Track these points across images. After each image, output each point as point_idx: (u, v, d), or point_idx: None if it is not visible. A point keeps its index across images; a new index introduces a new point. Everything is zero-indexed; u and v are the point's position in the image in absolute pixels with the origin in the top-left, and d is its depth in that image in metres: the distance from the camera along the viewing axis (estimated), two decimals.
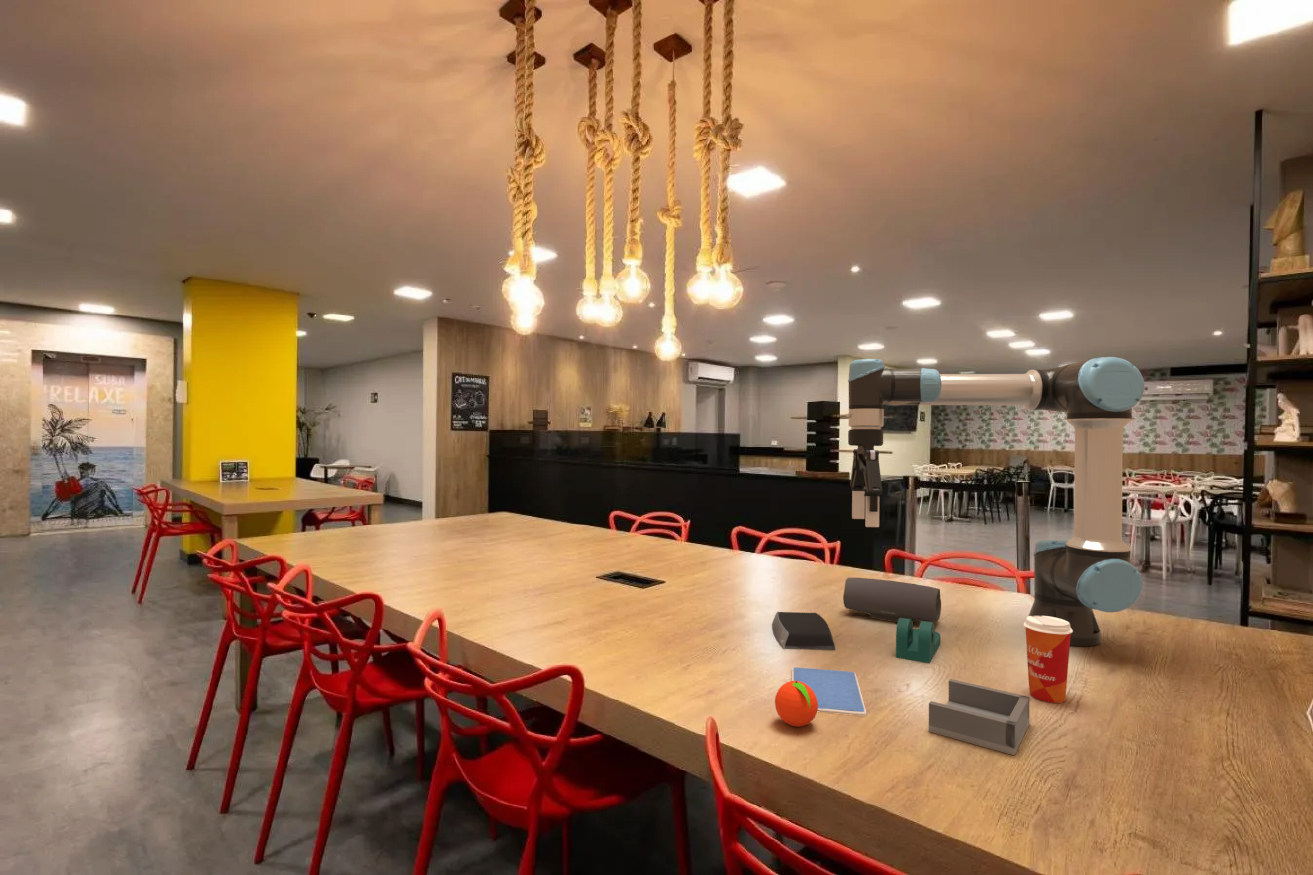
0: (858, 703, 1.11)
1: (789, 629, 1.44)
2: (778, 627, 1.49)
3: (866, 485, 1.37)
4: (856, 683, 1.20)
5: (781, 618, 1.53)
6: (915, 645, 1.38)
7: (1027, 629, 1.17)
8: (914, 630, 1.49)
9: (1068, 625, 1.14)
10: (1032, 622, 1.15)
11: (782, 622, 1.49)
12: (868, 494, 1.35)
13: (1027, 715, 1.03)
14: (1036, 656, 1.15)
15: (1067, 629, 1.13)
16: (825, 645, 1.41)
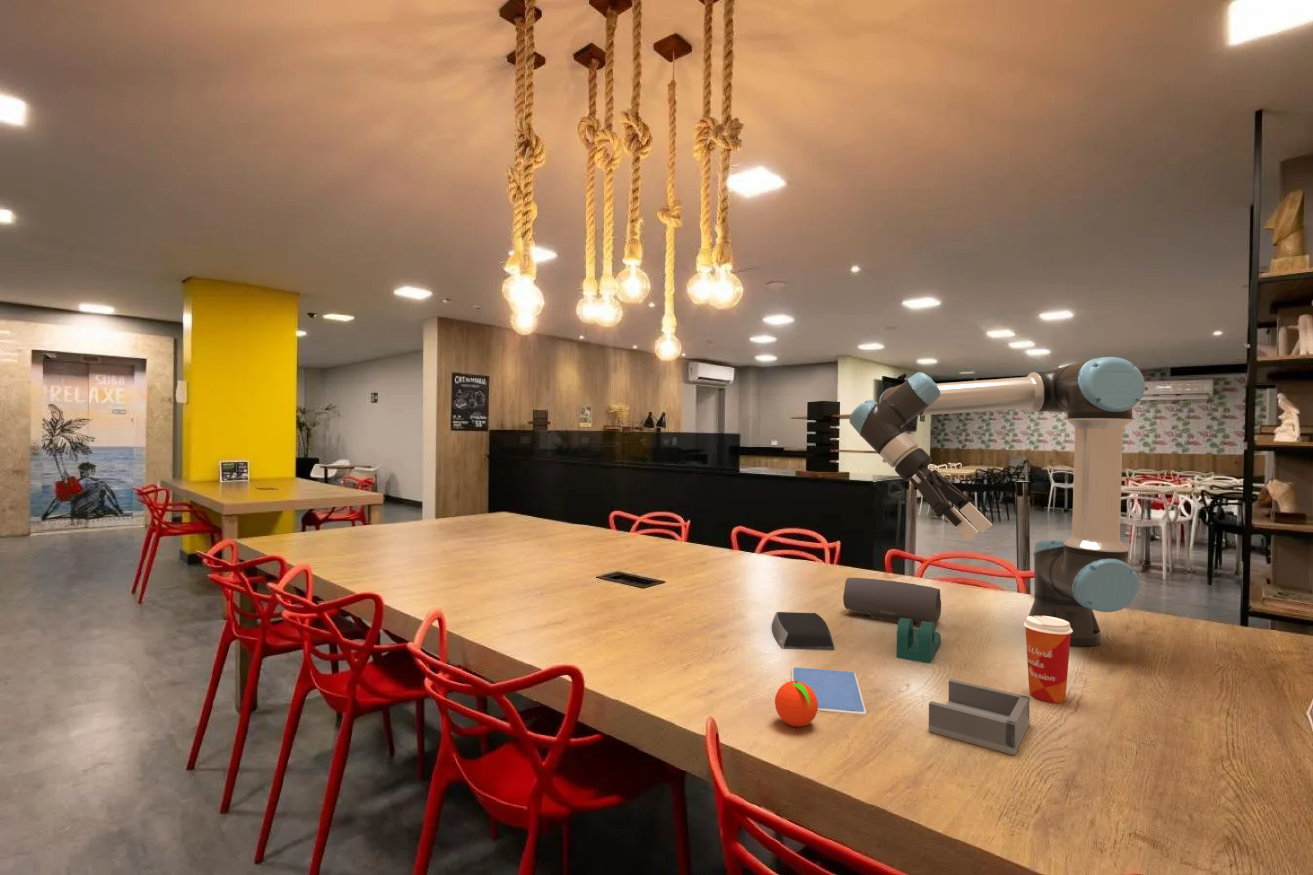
0: (858, 703, 1.11)
1: (788, 629, 1.44)
2: (777, 627, 1.49)
3: (935, 506, 1.31)
4: (856, 683, 1.20)
5: (780, 618, 1.53)
6: (916, 645, 1.38)
7: (1027, 629, 1.17)
8: (914, 630, 1.49)
9: (1068, 625, 1.14)
10: (1032, 622, 1.15)
11: (781, 622, 1.49)
12: (940, 513, 1.28)
13: (1027, 715, 1.03)
14: (1036, 656, 1.15)
15: (1067, 629, 1.13)
16: (824, 646, 1.41)
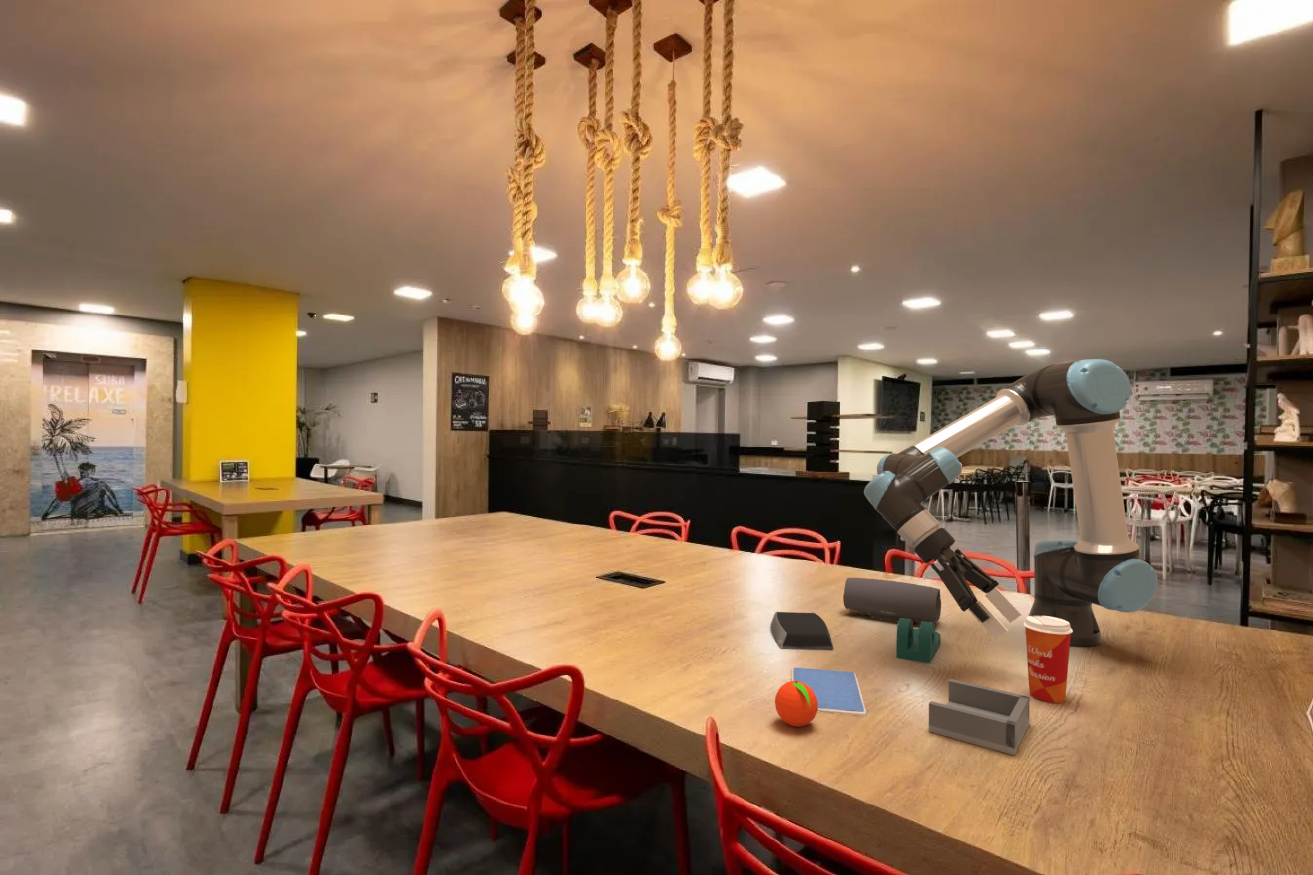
0: (858, 703, 1.11)
1: (787, 629, 1.44)
2: (776, 627, 1.49)
3: None
4: (856, 683, 1.20)
5: (779, 618, 1.53)
6: (916, 646, 1.38)
7: (1027, 629, 1.17)
8: (914, 630, 1.49)
9: (1068, 625, 1.14)
10: (1032, 622, 1.15)
11: (780, 622, 1.49)
12: (965, 607, 1.17)
13: (1027, 715, 1.03)
14: (1036, 656, 1.15)
15: (1067, 629, 1.13)
16: (823, 645, 1.41)
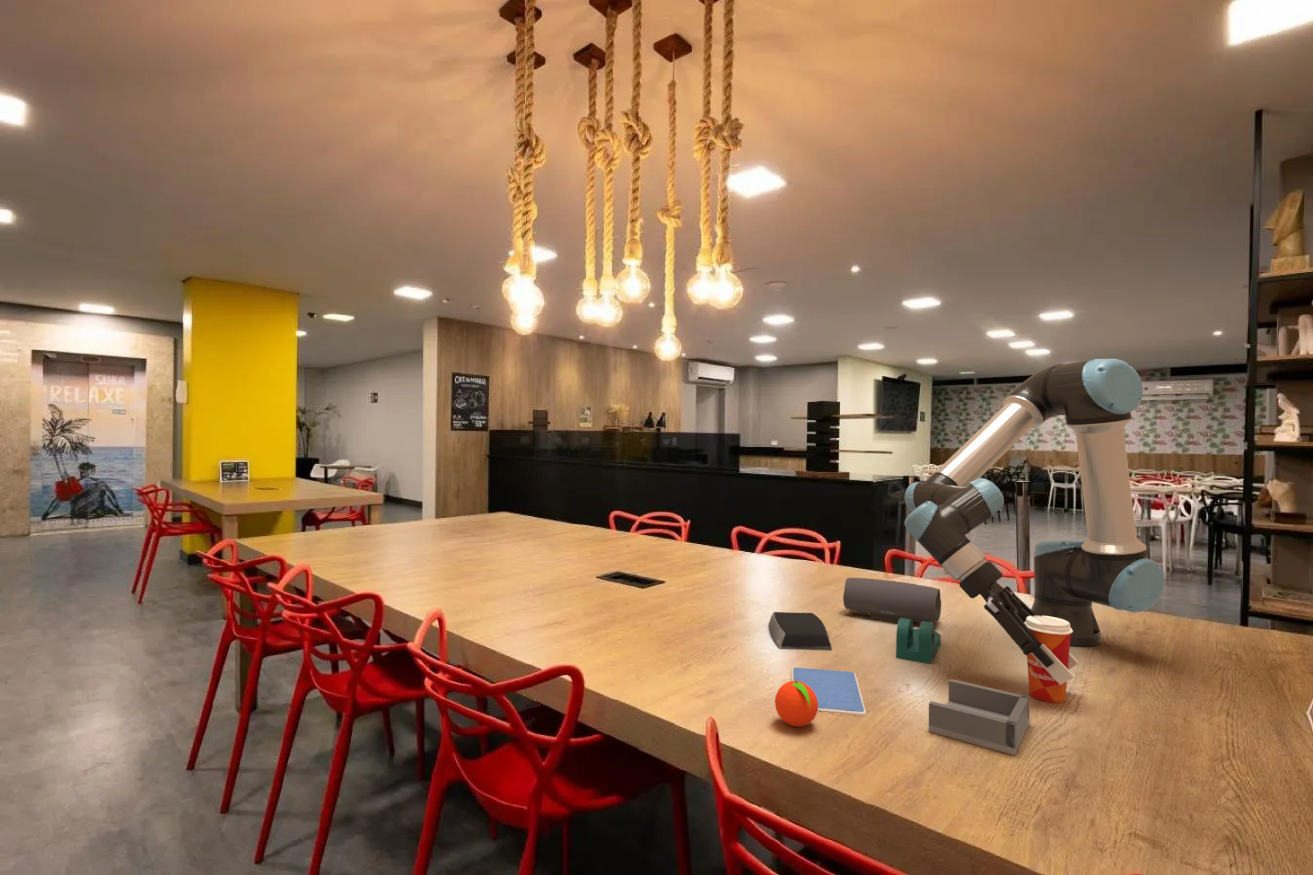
0: (858, 703, 1.11)
1: (785, 629, 1.44)
2: (774, 627, 1.49)
3: None
4: (856, 683, 1.20)
5: (777, 618, 1.53)
6: (916, 646, 1.38)
7: None
8: (914, 630, 1.49)
9: (1068, 625, 1.14)
10: (1032, 622, 1.15)
11: (778, 622, 1.49)
12: (1028, 652, 1.13)
13: (1027, 715, 1.03)
14: None
15: (1067, 629, 1.13)
16: (821, 646, 1.41)
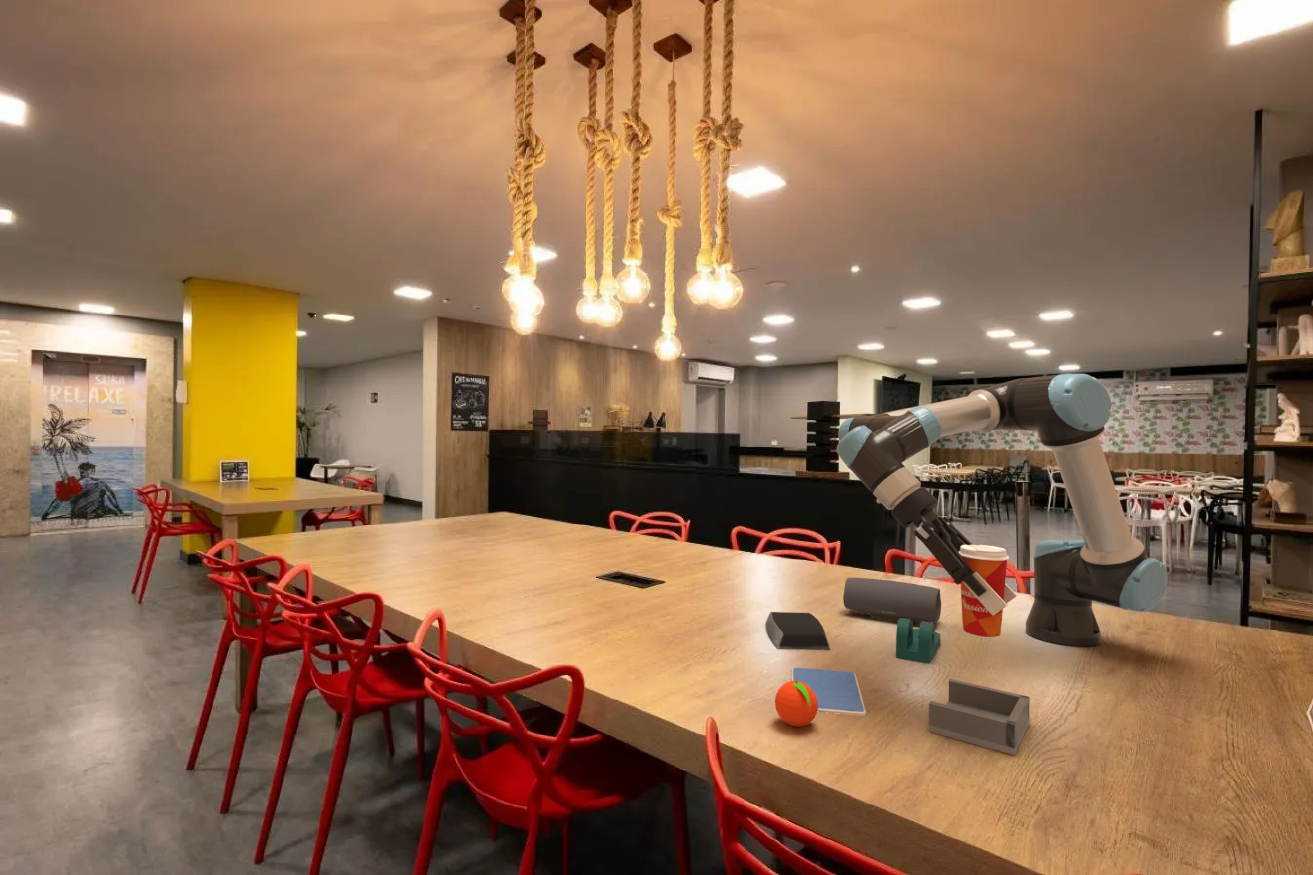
0: (858, 703, 1.11)
1: (783, 629, 1.44)
2: (772, 627, 1.49)
3: None
4: (856, 683, 1.20)
5: (775, 618, 1.53)
6: (916, 646, 1.38)
7: None
8: (914, 630, 1.49)
9: (1004, 552, 1.03)
10: (965, 549, 1.05)
11: (776, 622, 1.49)
12: (959, 580, 1.03)
13: (1027, 715, 1.03)
14: None
15: (1002, 556, 1.03)
16: (819, 645, 1.41)
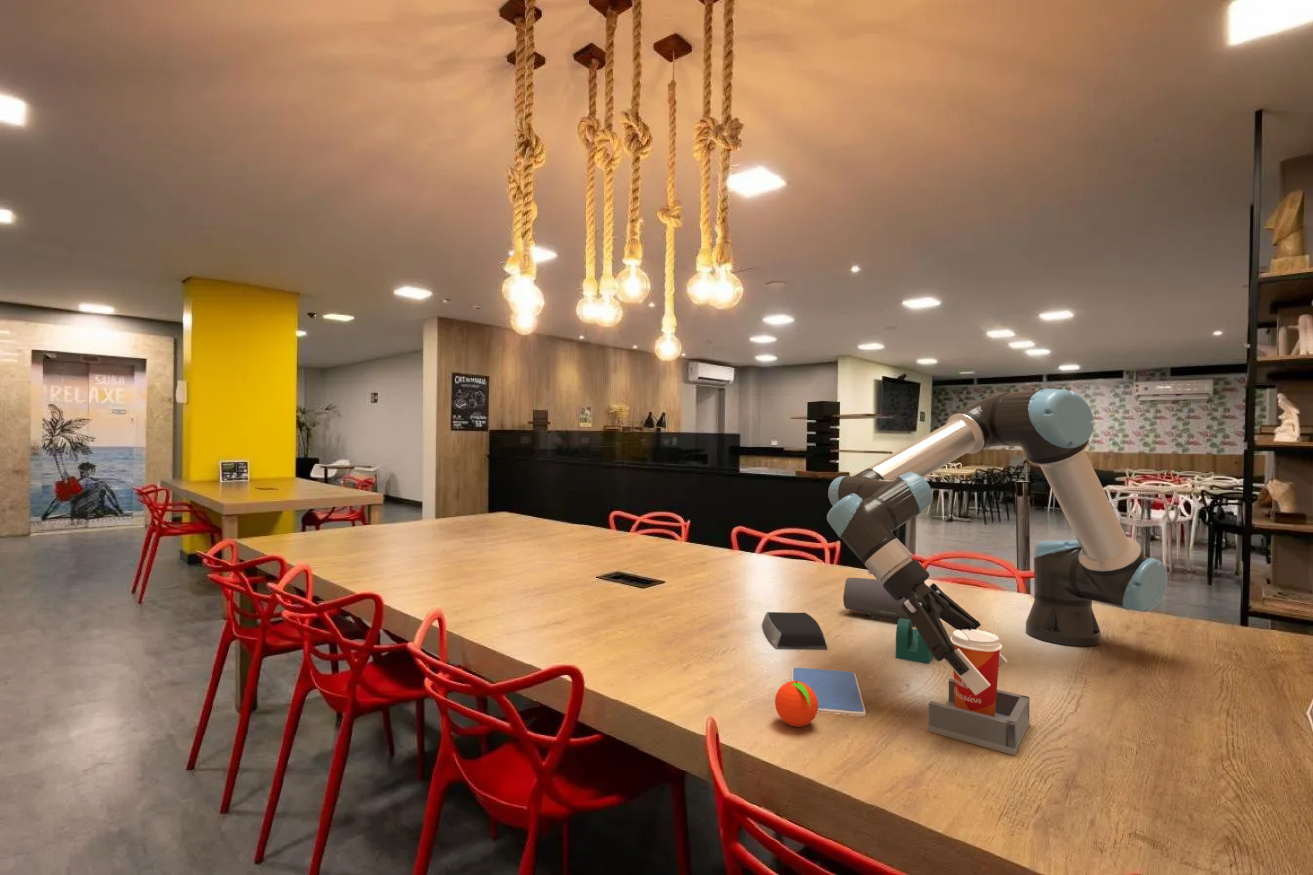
0: (858, 703, 1.11)
1: (781, 629, 1.44)
2: (769, 627, 1.48)
3: None
4: (856, 683, 1.20)
5: (772, 618, 1.53)
6: (915, 646, 1.38)
7: (953, 645, 1.04)
8: (914, 630, 1.49)
9: (997, 641, 1.01)
10: (957, 637, 1.03)
11: (773, 622, 1.49)
12: (940, 657, 1.00)
13: (1027, 715, 1.03)
14: None
15: (995, 646, 1.01)
16: (817, 645, 1.41)
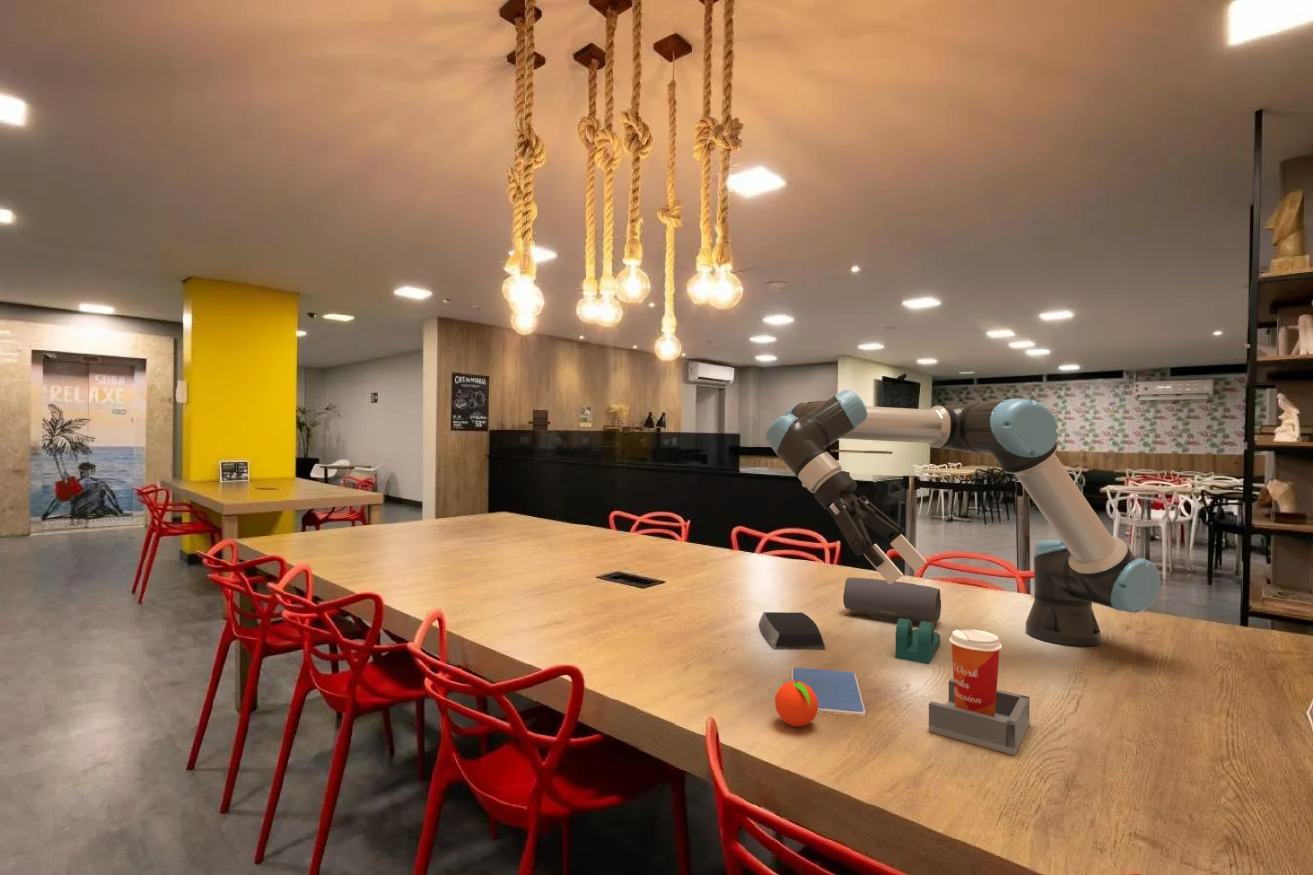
0: (858, 703, 1.11)
1: (779, 629, 1.44)
2: (767, 627, 1.48)
3: (855, 542, 1.10)
4: (856, 683, 1.20)
5: (769, 618, 1.52)
6: (915, 646, 1.38)
7: (952, 645, 1.04)
8: (914, 630, 1.49)
9: (996, 641, 1.02)
10: (957, 637, 1.03)
11: (771, 622, 1.49)
12: (859, 551, 1.08)
13: (1027, 715, 1.03)
14: (961, 675, 1.02)
15: (994, 645, 1.01)
16: (815, 645, 1.41)
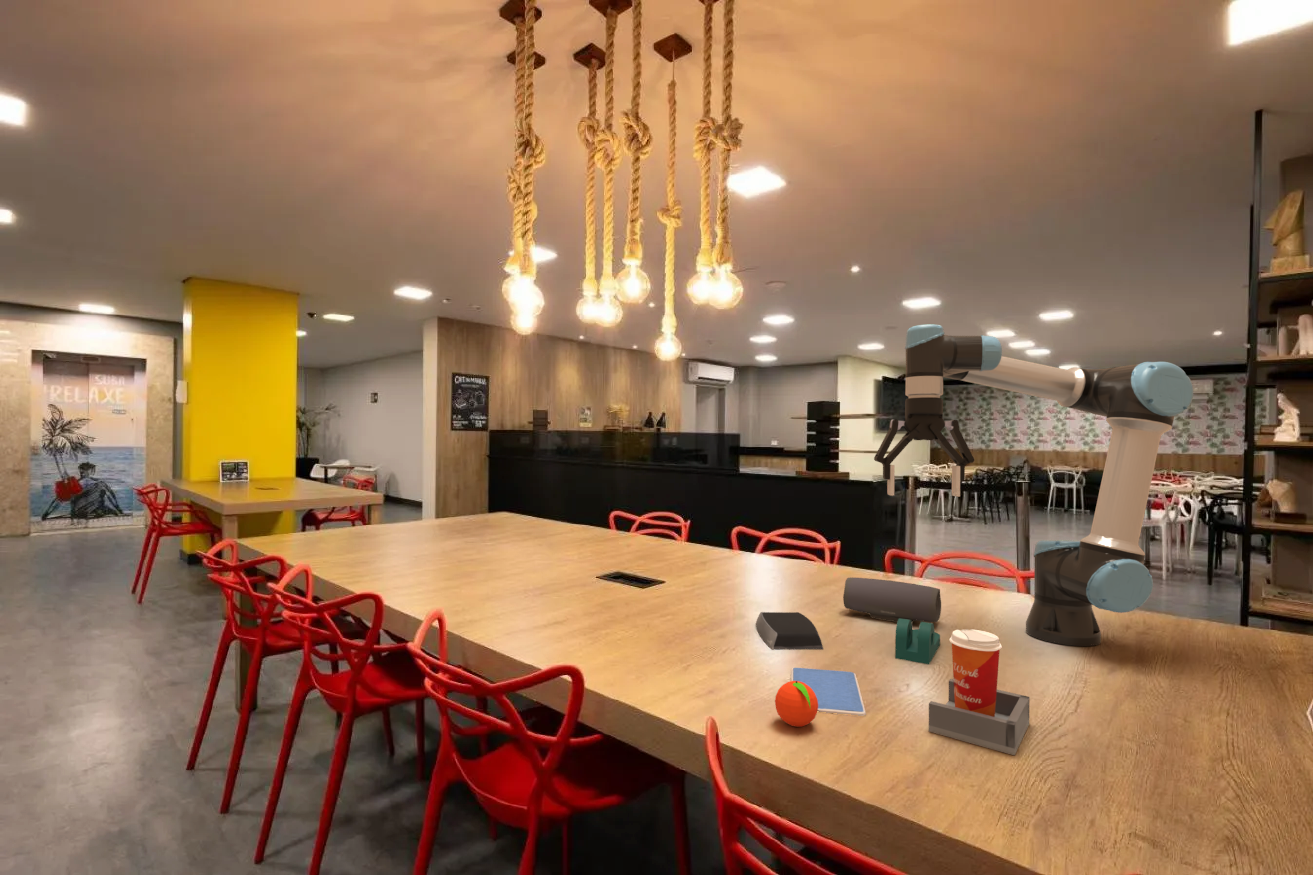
0: (858, 703, 1.11)
1: (777, 629, 1.44)
2: (765, 628, 1.48)
3: None
4: (856, 683, 1.20)
5: (766, 618, 1.52)
6: (915, 646, 1.38)
7: (952, 645, 1.04)
8: (913, 631, 1.49)
9: (996, 641, 1.02)
10: (957, 637, 1.03)
11: (768, 623, 1.49)
12: None
13: (1027, 715, 1.03)
14: (961, 675, 1.02)
15: (994, 645, 1.01)
16: (813, 645, 1.41)
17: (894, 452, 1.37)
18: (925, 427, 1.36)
